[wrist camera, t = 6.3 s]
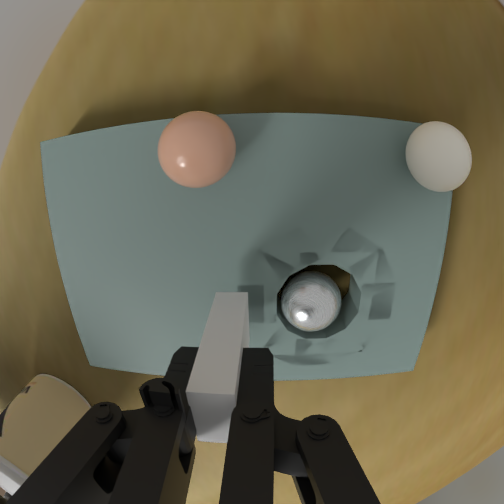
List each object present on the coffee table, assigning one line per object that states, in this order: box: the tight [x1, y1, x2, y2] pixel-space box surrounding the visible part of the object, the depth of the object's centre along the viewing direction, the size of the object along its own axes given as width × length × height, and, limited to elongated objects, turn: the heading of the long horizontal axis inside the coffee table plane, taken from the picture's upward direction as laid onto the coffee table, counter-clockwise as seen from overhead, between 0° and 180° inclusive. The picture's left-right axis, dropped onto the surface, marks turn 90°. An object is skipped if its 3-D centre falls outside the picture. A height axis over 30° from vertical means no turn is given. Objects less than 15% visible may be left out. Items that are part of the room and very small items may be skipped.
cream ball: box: [405, 121, 472, 192], centre depth 12 cm, size 3×3×3 cm
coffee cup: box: [0, 374, 91, 495], centre depth 19 cm, size 9×9×12 cm
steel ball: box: [281, 271, 341, 332], centre depth 16 cm, size 3×3×3 cm
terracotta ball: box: [158, 111, 236, 188], centre depth 12 cm, size 3×3×3 cm
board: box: [40, 113, 453, 381], centre depth 17 cm, size 22×15×2 cm
